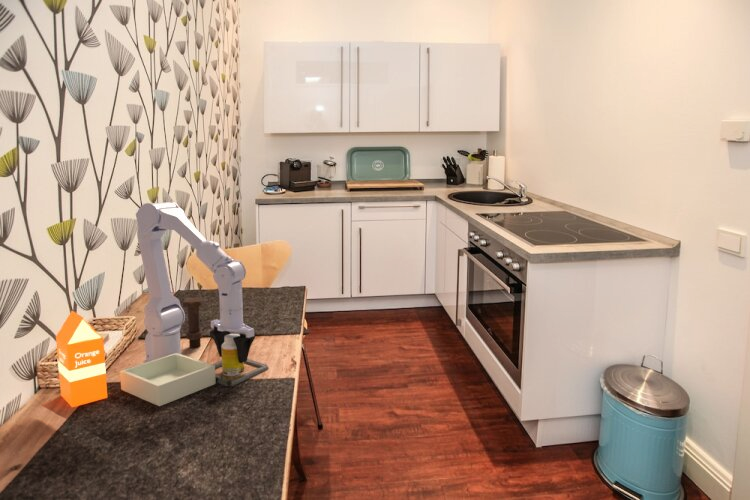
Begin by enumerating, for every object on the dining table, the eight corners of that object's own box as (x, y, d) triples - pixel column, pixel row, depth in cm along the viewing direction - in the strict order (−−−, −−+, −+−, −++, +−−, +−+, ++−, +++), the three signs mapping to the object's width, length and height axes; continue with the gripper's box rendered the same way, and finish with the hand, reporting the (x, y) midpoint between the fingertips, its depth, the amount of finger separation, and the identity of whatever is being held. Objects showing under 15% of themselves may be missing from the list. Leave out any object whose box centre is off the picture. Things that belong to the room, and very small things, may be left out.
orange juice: (95, 386, 131) (89, 307, 128) (108, 397, 124) (102, 314, 121) (60, 395, 125) (52, 313, 122) (71, 407, 119) (63, 321, 116)
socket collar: (195, 375, 138) (195, 370, 138) (236, 360, 149) (236, 355, 148) (230, 387, 130) (230, 382, 130) (270, 371, 141) (270, 365, 141)
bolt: (202, 352, 155) (199, 302, 153) (184, 352, 155) (181, 302, 152) (205, 345, 161) (203, 297, 159) (188, 346, 160) (186, 297, 158)
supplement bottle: (244, 376, 137) (243, 338, 136) (221, 378, 136) (220, 339, 135) (244, 368, 143) (243, 332, 141) (223, 370, 142) (221, 333, 140)
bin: (121, 389, 129) (119, 370, 128) (177, 370, 141) (176, 352, 141) (159, 406, 120) (158, 386, 119) (215, 383, 133) (214, 365, 132)
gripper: (200, 307, 138) (202, 357, 140) (238, 316, 129) (240, 369, 132) (222, 301, 143) (224, 350, 145) (259, 310, 135) (261, 361, 137)
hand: (233, 358), depth 139 cm, fingers open, 7 cm apart
